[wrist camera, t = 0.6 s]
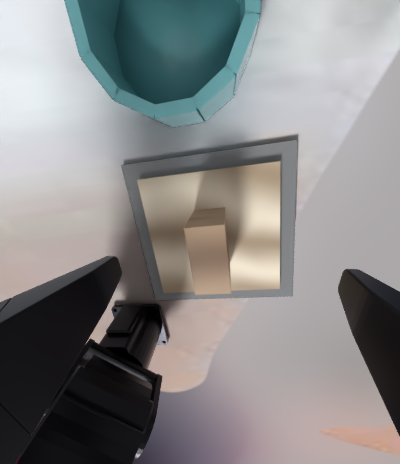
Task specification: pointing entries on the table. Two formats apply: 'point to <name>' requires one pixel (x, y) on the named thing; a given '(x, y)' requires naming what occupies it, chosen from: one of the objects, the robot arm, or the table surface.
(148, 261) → the mat
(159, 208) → the cover board
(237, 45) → the bowl
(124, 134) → the table surface
